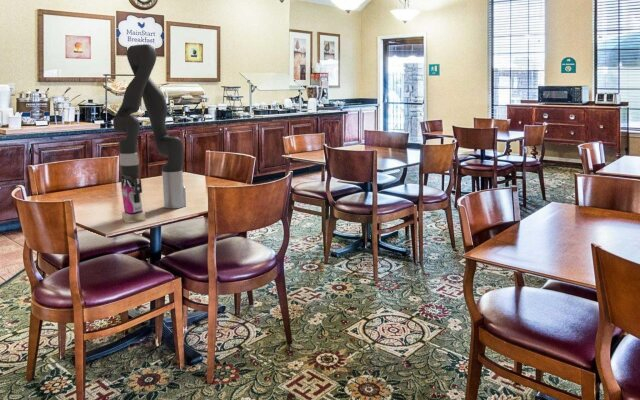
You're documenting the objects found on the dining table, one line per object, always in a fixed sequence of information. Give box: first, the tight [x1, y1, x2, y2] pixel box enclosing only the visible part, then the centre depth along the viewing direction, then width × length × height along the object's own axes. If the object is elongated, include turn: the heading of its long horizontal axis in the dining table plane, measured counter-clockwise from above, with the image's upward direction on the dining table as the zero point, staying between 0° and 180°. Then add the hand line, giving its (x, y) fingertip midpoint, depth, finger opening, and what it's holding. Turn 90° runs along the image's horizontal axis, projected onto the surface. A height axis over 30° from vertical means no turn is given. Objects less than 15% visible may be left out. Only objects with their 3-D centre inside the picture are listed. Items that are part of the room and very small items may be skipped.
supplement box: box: [120, 186, 144, 215], centre depth 231 cm, size 6×6×12 cm
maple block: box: [121, 211, 147, 224], centre depth 232 cm, size 8×8×4 cm
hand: (132, 201), depth 231 cm, fingers open, 8 cm apart
